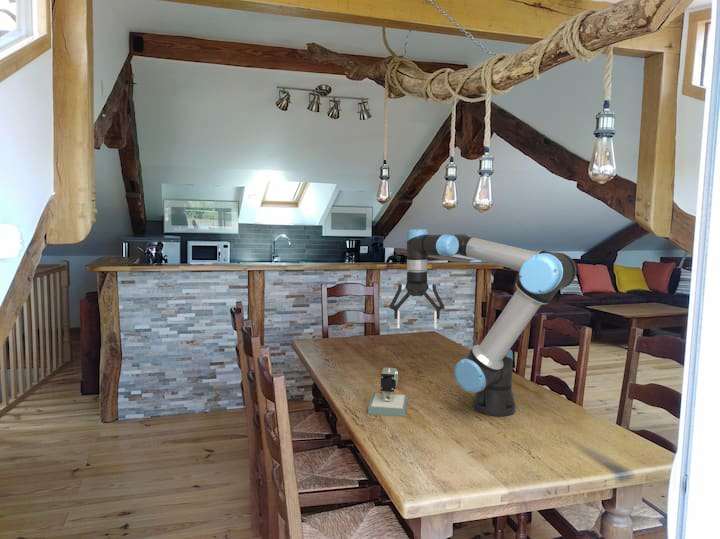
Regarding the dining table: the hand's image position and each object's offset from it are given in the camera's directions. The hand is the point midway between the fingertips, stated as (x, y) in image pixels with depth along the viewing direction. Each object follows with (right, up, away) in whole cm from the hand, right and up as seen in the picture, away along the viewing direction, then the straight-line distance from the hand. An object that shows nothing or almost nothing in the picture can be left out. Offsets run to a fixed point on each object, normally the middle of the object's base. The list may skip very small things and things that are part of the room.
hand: (416, 327), depth 192 cm
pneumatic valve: (-11, -26, -5) cm, 28 cm away
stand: (-11, -28, -5) cm, 31 cm away
